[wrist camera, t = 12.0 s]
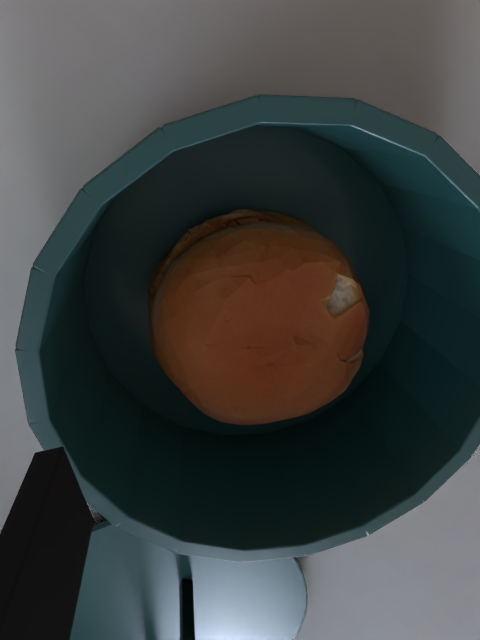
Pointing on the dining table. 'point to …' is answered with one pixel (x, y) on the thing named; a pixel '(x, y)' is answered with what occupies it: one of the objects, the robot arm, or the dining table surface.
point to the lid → (183, 594)
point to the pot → (290, 434)
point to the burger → (257, 317)
